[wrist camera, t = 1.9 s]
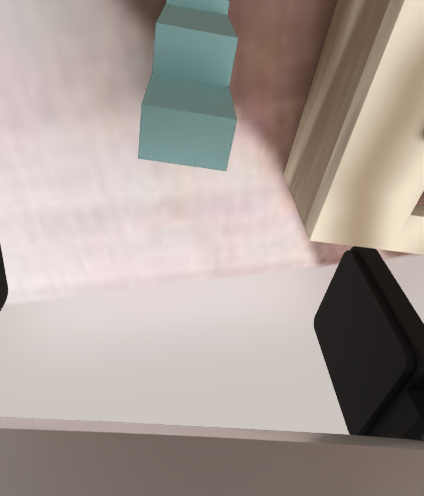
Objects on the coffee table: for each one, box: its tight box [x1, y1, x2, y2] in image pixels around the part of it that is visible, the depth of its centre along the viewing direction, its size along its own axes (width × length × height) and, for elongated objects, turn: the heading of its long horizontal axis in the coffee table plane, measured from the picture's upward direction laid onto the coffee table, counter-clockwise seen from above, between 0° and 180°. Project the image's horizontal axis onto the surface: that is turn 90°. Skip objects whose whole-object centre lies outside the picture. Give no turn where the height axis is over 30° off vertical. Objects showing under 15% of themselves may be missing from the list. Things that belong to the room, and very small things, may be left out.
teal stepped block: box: [138, 0, 238, 171], centre depth 23 cm, size 4×9×15 cm, turn 170°
